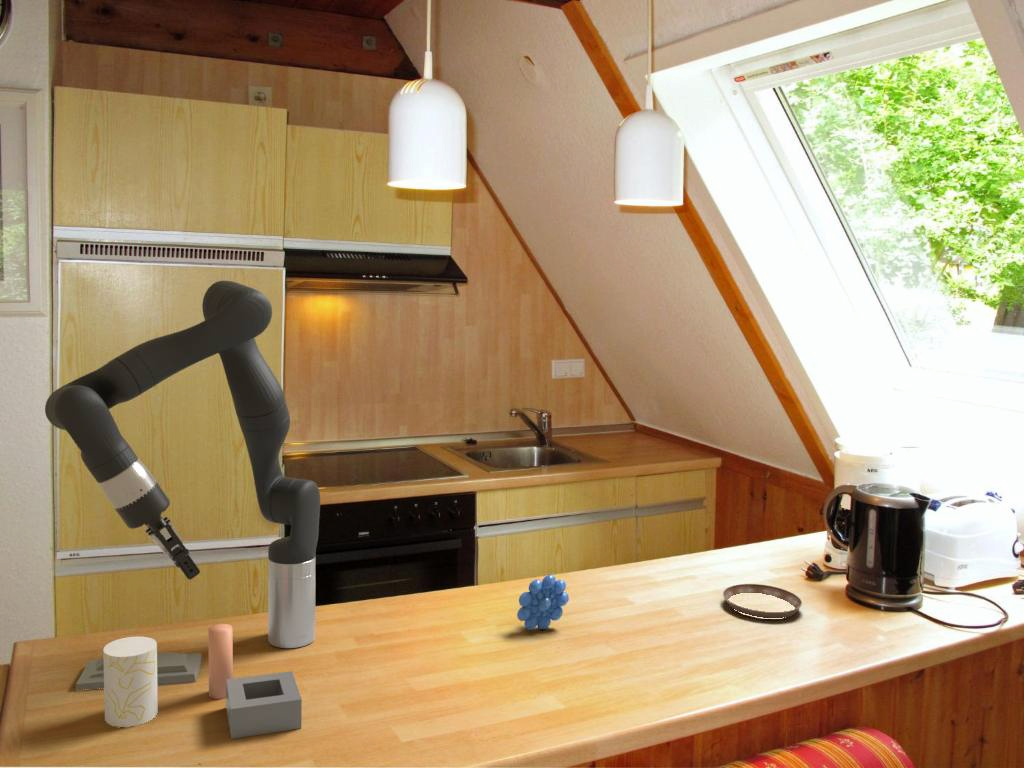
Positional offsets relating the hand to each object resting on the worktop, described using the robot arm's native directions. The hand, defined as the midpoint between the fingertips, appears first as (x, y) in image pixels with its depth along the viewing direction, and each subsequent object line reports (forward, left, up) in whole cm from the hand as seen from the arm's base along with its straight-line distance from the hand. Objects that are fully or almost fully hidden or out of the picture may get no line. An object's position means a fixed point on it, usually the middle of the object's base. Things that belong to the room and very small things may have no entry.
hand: (189, 570), depth 152 cm
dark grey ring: (-10, +125, -24) cm, 128 cm away
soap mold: (-15, -8, -25) cm, 30 cm away
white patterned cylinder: (+1, -9, -24) cm, 26 cm away
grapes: (-14, +71, -24) cm, 76 cm away
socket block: (+8, +11, -24) cm, 28 cm away
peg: (-3, +5, -24) cm, 25 cm away
